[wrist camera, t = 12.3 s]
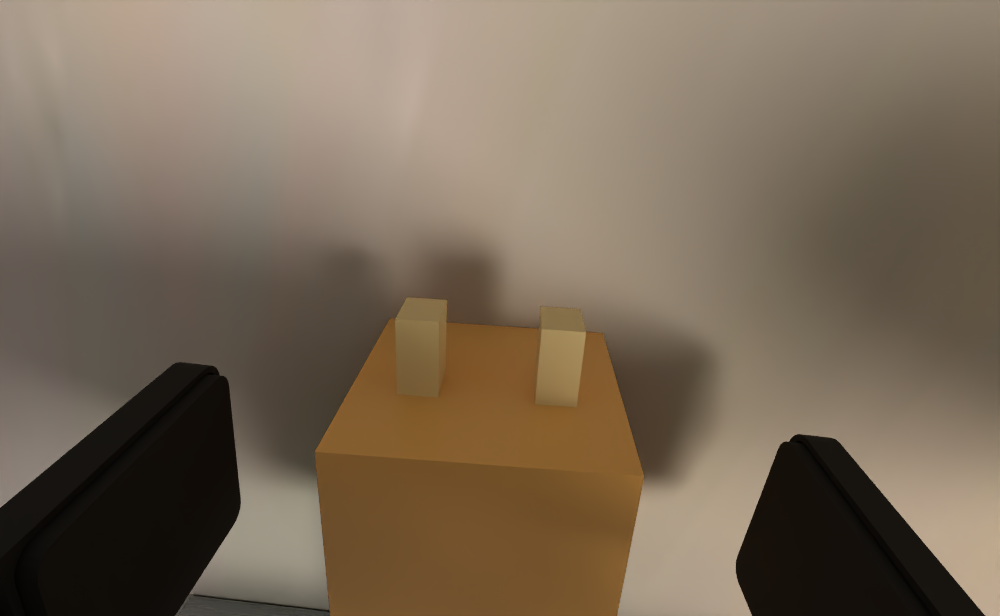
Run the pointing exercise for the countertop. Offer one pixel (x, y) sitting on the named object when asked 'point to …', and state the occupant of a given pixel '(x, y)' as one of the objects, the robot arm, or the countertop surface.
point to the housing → (241, 608)
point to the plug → (479, 472)
